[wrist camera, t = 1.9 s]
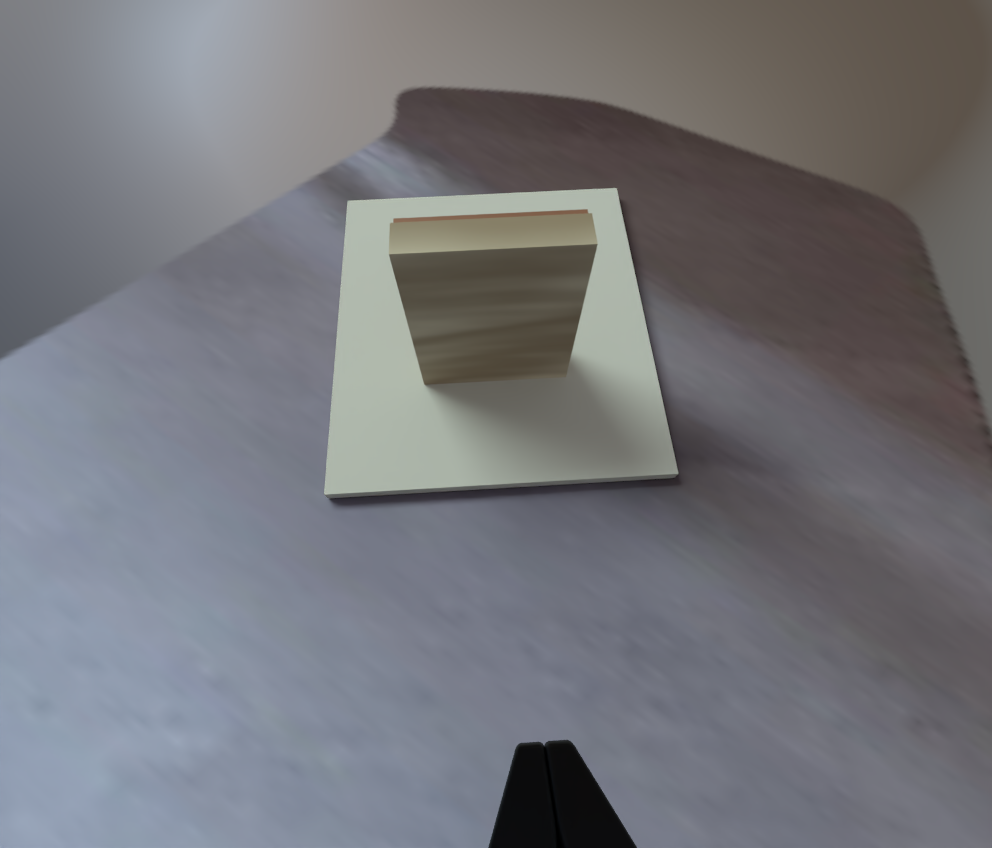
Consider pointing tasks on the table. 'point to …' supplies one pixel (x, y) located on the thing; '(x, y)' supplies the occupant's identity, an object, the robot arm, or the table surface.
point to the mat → (491, 404)
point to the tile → (493, 291)
